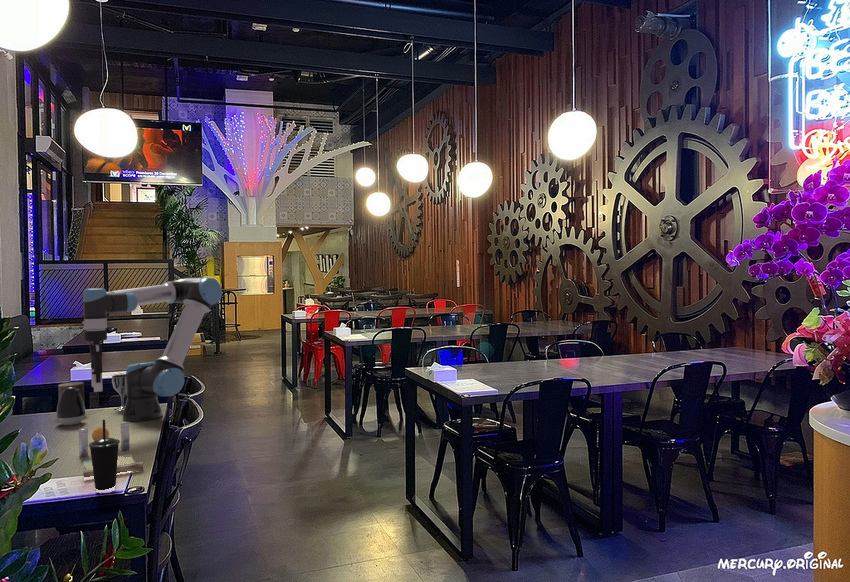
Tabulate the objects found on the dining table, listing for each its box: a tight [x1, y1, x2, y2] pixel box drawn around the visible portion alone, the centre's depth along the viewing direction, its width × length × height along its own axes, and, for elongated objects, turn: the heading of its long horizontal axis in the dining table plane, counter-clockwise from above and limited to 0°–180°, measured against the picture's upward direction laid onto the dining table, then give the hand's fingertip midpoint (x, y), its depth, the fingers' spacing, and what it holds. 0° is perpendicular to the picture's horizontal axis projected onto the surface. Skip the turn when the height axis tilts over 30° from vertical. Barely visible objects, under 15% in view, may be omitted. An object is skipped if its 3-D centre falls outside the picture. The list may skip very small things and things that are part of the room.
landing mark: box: [82, 453, 132, 467], centre depth 197 cm, size 14×14×1 cm
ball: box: [91, 426, 110, 442], centre depth 222 cm, size 6×6×6 cm
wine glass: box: [111, 373, 127, 409], centre depth 278 cm, size 8×8×15 cm
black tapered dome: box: [56, 387, 86, 426], centre depth 250 cm, size 10×10×15 cm
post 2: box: [120, 422, 131, 452], centre depth 212 cm, size 3×3×9 cm
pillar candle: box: [57, 380, 86, 408], centre depth 266 cm, size 10×10×15 cm
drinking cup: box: [88, 419, 121, 490], centre depth 171 cm, size 8×8×20 cm
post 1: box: [78, 427, 89, 458], centre depth 205 cm, size 3×3×9 cm
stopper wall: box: [82, 461, 144, 477], centre depth 185 cm, size 16×2×2 cm, turn 122°
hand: (97, 389), depth 230 cm, fingers open, 10 cm apart
